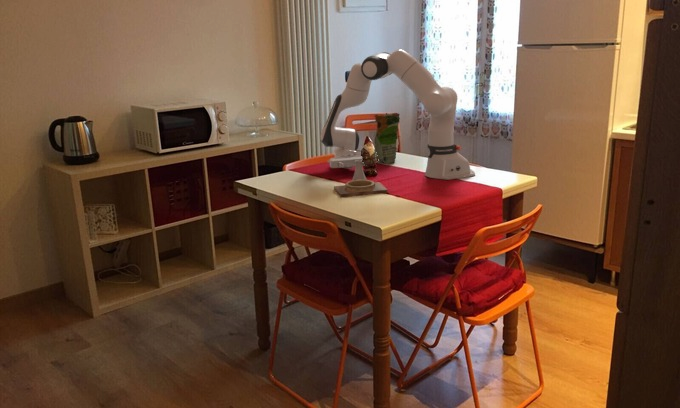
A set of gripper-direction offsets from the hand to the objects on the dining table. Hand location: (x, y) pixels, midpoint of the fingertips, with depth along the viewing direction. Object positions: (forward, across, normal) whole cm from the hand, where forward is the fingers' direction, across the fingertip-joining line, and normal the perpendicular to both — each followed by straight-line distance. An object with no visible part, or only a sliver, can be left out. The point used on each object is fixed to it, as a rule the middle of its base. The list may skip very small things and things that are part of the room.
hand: (354, 165), depth 265 cm
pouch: (-26, +23, +6) cm, 35 cm away
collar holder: (+24, -3, +6) cm, 25 cm away
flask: (+10, 0, +6) cm, 11 cm away
